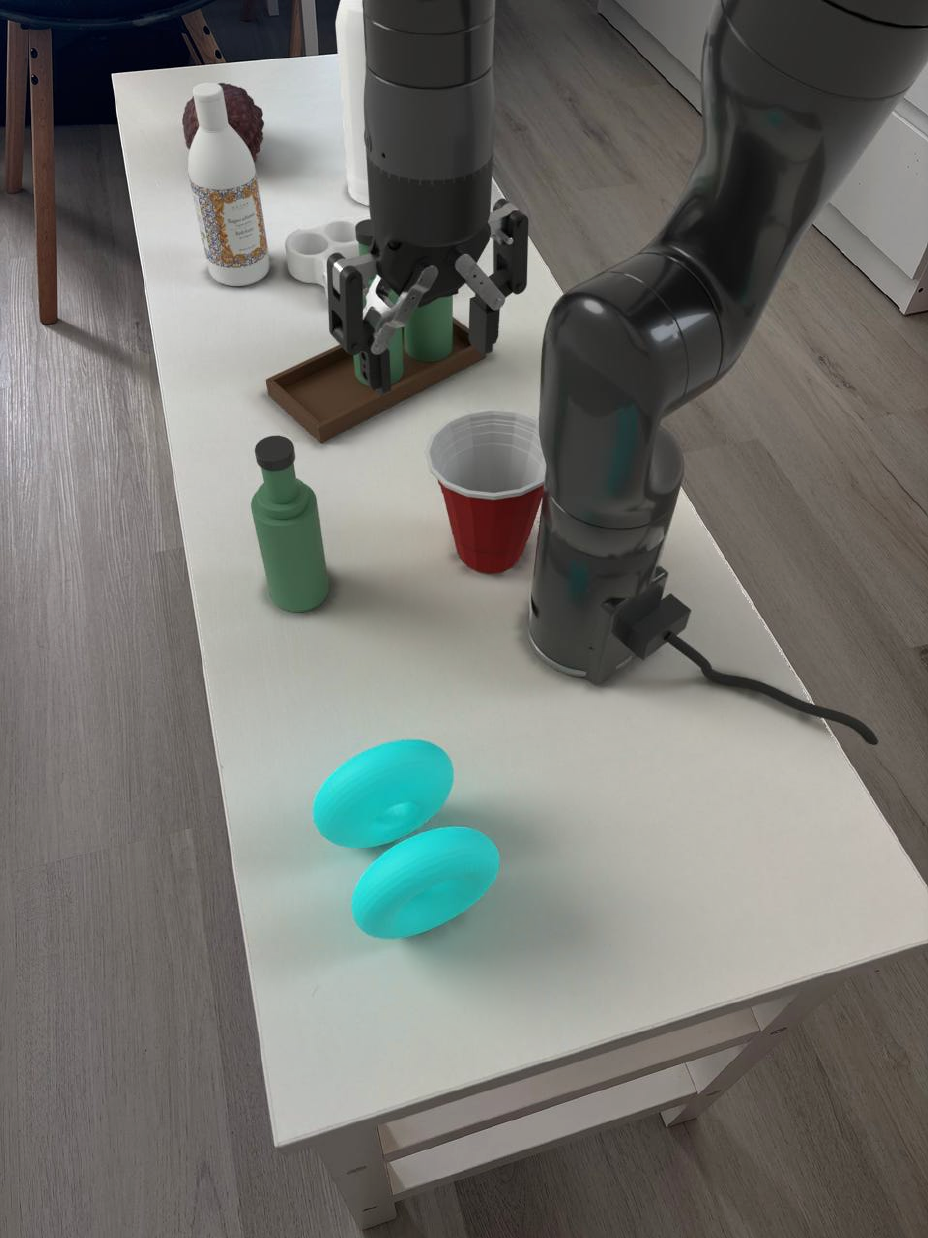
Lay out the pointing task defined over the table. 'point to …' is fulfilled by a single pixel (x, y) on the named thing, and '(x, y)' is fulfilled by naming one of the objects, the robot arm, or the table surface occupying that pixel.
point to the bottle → (353, 94)
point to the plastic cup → (489, 483)
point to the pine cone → (231, 118)
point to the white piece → (321, 248)
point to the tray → (357, 386)
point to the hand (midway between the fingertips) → (431, 367)
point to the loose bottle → (288, 530)
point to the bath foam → (226, 194)
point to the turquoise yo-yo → (417, 867)
